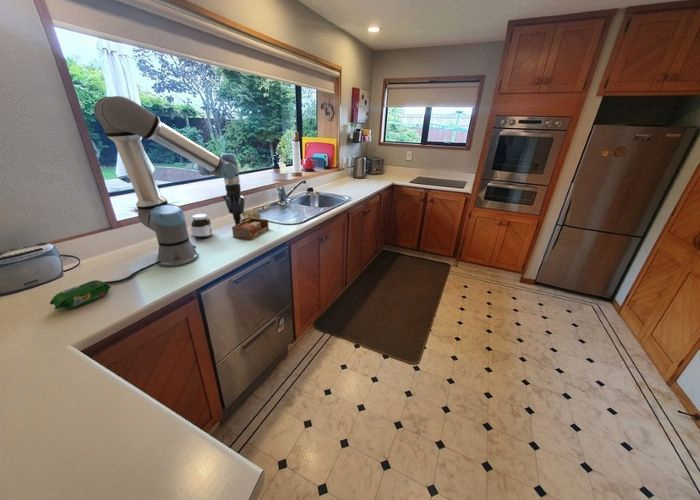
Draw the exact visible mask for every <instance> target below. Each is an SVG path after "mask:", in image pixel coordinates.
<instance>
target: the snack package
mask: <svg viewBox="0 0 700 500" xmlns="http://www.w3.org/2000/svg"><path fill="white" fill-rule="evenodd" d="M105 282H106V281H102V280H99V279H95V280H89V281H87V282H86V283H83V284H80V285H76V286H74V287H71V288H68V289H65V290H62V291H60V292H58V293H56V294H55V295H54V296H53V297H52V298H51V299H50V301H49V304H50V305H52V306H53V305H54V310H58V309H61V308H64V309H72V308H77V307H79V306H82V305H85V304H87V303H90V302H92V301H95V300H97V299H99V298H102V297H104V296H106V295H107V294H108V292H109V291H110V290H111V288H112V287H111V285H110V284H107V283H105Z"/></svg>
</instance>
